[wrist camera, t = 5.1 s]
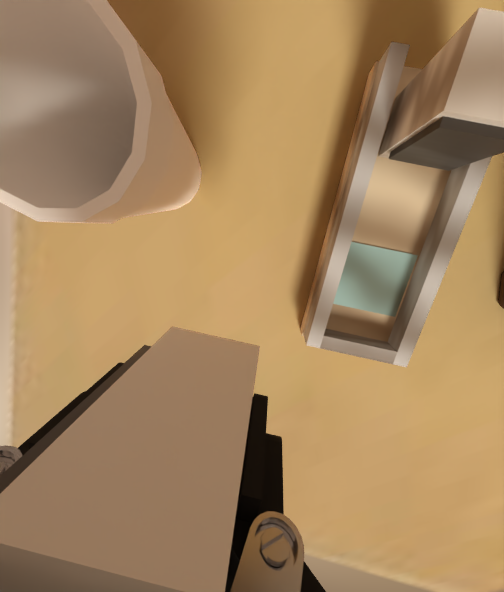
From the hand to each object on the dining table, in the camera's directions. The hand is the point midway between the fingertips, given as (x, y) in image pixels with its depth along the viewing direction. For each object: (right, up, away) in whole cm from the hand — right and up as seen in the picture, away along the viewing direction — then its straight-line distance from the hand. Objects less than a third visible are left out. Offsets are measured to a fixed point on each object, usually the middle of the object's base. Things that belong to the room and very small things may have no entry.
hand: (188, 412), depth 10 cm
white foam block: (0, 0, +2) cm, 2 cm away
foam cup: (-5, +16, +13) cm, 21 cm away
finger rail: (+14, +11, +13) cm, 22 cm away
